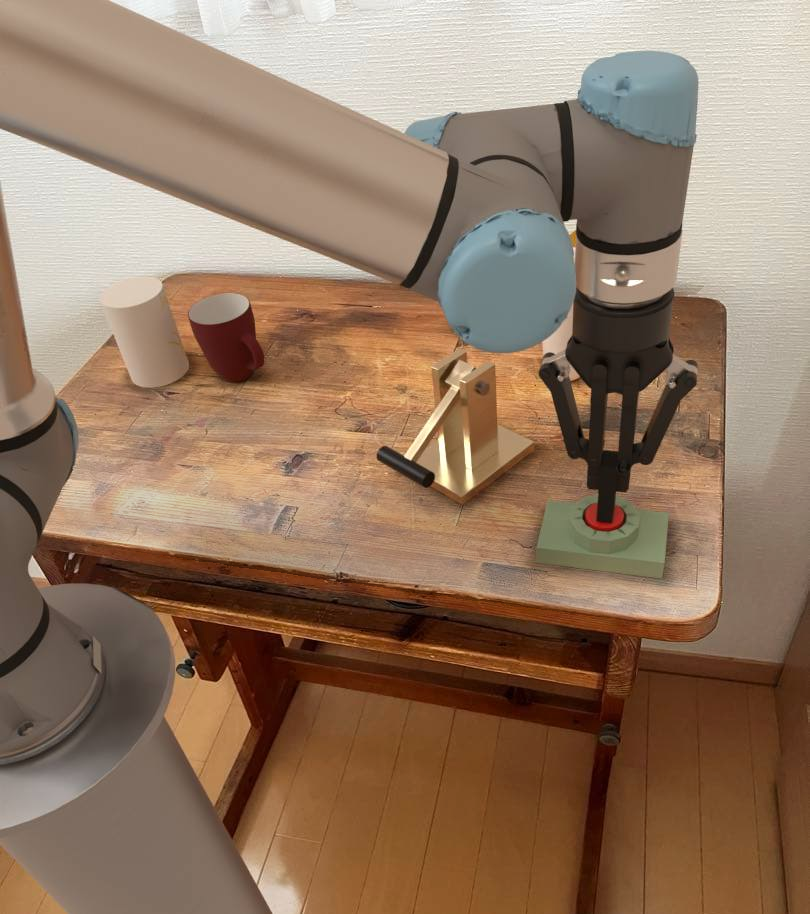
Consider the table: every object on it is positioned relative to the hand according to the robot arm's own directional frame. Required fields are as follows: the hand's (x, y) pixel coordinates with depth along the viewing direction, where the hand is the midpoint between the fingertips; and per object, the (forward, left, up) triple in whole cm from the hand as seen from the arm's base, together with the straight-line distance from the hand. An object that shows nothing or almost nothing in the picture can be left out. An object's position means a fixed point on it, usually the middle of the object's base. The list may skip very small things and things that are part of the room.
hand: (605, 512), depth 80 cm
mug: (-50, +24, -5) cm, 56 cm away
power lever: (-18, +8, +3) cm, 20 cm away
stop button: (0, 0, -2) cm, 2 cm away
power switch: (-16, +11, -5) cm, 20 cm away
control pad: (0, 0, -5) cm, 5 cm away
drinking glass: (-8, +30, -5) cm, 31 cm away
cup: (-63, +24, -5) cm, 68 cm away
